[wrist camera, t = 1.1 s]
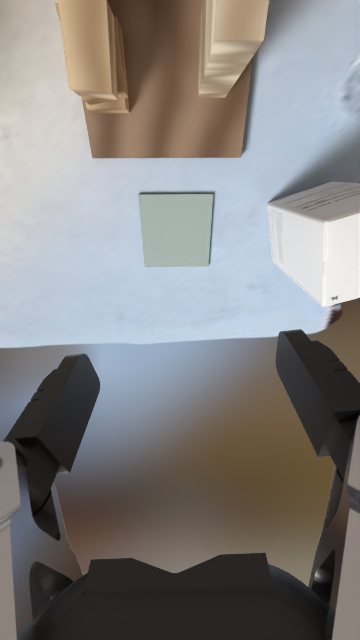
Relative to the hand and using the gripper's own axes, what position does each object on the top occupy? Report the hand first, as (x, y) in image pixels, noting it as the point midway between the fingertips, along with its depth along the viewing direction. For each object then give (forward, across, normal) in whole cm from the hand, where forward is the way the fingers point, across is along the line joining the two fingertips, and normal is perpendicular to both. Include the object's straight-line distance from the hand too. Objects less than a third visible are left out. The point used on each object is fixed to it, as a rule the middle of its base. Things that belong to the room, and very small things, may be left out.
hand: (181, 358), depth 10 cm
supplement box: (+28, -17, +2) cm, 33 cm away
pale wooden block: (+27, -6, -15) cm, 31 cm away
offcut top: (+22, +5, -16) cm, 27 cm away
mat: (+28, +1, +1) cm, 28 cm away
